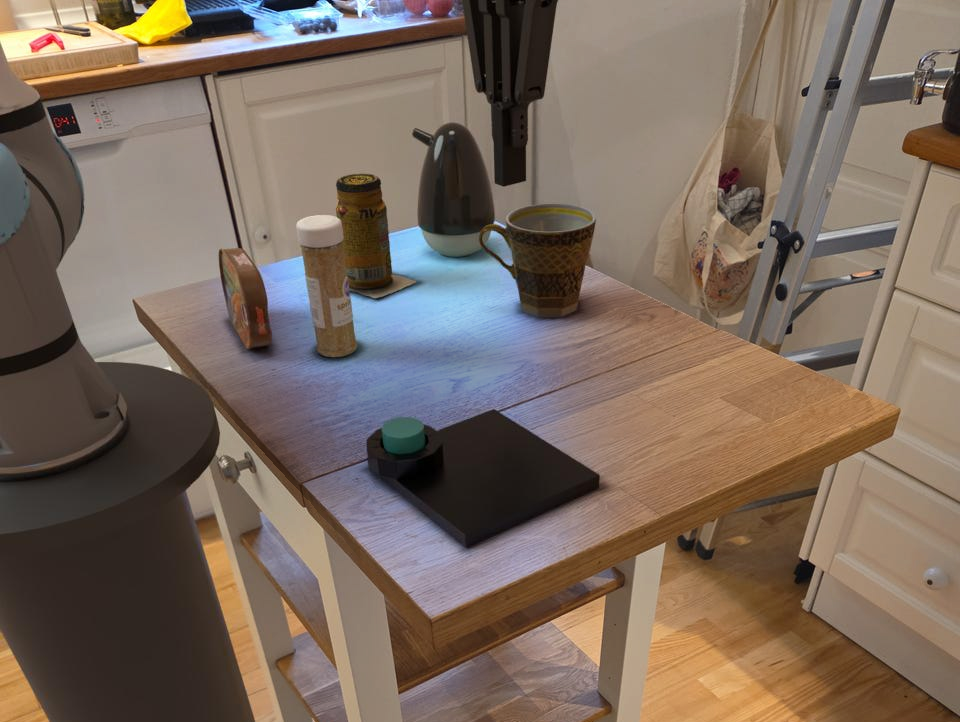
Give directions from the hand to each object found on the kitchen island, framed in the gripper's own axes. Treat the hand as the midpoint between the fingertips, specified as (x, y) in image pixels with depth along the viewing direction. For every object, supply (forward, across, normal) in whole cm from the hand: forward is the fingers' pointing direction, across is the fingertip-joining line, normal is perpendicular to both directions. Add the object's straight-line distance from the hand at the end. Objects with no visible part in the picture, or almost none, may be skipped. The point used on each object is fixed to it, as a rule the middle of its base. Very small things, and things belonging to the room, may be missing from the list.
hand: (510, 181), depth 85 cm
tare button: (+14, -15, +23) cm, 30 cm away
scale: (+16, -20, +18) cm, 31 cm away
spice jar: (+16, +11, +16) cm, 25 cm away
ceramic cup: (+17, +7, -8) cm, 20 cm away
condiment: (+17, +26, +3) cm, 31 cm away
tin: (+16, +21, +22) cm, 34 cm away
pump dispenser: (+17, +29, -12) cm, 35 cm away
